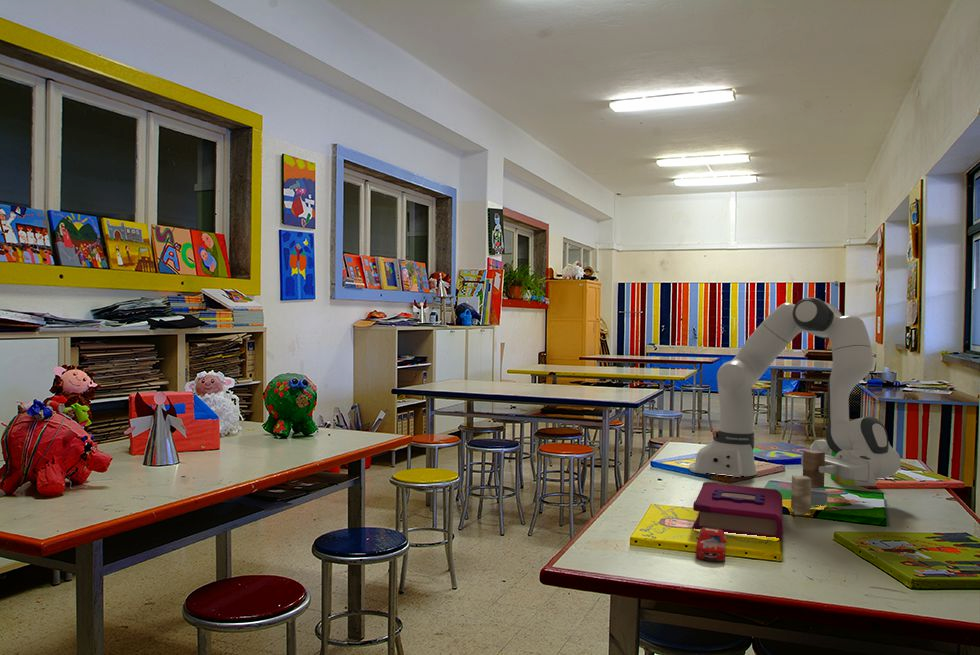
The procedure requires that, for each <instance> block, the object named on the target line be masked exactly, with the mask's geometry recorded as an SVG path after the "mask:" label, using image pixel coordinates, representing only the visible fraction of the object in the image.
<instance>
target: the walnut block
mask: <svg viewBox="0 0 980 655" xmlns="http://www.w3.org/2000/svg"><path fill="white" fill-rule="evenodd" d="M802 452H803V453H802V455H803V466H802V476H808V477H809V478H810V479H811V489H824V488H825V473H819V472H817V471H816V469H817V468H816V467H817V466H821V465H822V466H825V452H821V451H817V450H810V449H809V450H808V449H807V450H803V451H802Z"/></svg>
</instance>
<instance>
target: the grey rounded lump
mask: <svg viewBox="0 0 980 655" xmlns="http://www.w3.org/2000/svg"><path fill="white" fill-rule="evenodd" d="M809 450H817V451H821V452H825V455H829V456H831V453H832V450H831V449H830V448H829V446H828V444H827V442H826V439H815V440H814V441H813V442H812V443H811V445H810V449H809Z"/></svg>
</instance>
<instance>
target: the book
mask: <svg viewBox="0 0 980 655" xmlns="http://www.w3.org/2000/svg"><path fill="white" fill-rule="evenodd" d="M692 507H693V508H692V509H693V511H694V512H698V514H697V517H696V519H695V521H694V522H693V524H692V529H693V528H695V529H701V528H703V527H708V528H717V529H721V530H723V532H728V533H736V534H747V535H757V536H766V537H776V538H779V539H780V540H782V536H783V525H784V524H783V495H782V492H781V491H779V490H778V489H775V488H764V487H757V486H756V487H754V486H745V485H735V484H725V483H718V482H709V481H704V482H703V483H702V487H701V489H700V491H699V493H698V494H697V497H696V499H695V500H694V502H693V505H692Z"/></svg>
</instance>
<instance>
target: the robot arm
mask: <svg viewBox="0 0 980 655" xmlns="http://www.w3.org/2000/svg"><path fill="white" fill-rule="evenodd" d="M803 332H807V333H808V334H809V335H812V336H815V337H818V338H820V339H825V340H829V341H830V347H831V354H832V367H831V372H830V375H829V376H828V377H829V378H828V381H827V425H826V426H827V427H826V430H825V440H826V442H827V444H828V446H829V448H830V449H831V450H832V451H833V452H834V453H836V456H835V457H833V456H829V455H825V466H822V465H821V466H817V467H816V468H817V469H816V471H817V472H819V473H824V474H828V475H831V474H832V475H835V476H839V477H840V478H842V479H843V480H846V481H851V480H853V481H863V482H873V479H876V480H877V479H884V478H889V477H891V476H893V475H895V474H896V473H897V472H898V471H899V470H900V467H901V465H902V464H901V463H902V461H901V457H900V455H899V453H898V452H897V450H896V449H894V448H893V447H892V446H891V444H890V441H889V436H888V431H887V429H886V427H885V425H884V423H882V422H881V421H880V420H879V419H878V418H876V417H874V416H870V415H868V416H864V417H859V418H855V419H853V420H850V403H849V402H850V401H849V398H850V395H851V392H852V390H854V388H855V387H856V386H857V385H858V383H860V382H862V380H863V379H865V378H866V377H867V376H868V375H869V373H871V371H872V368H873V365H874V356H873V355H874V354H873V349H872V343H871V339H870V336H869V333H868V330H867V327H866V324H865V323H864V321H863V319H862V318H860V317H858V316H855V315H844V314H843V312H841V310H839V309H838V308H836V307H835V306H833V305H832V304H831V303H828V302H825V301H823V300H822V299H820V298H816V297H810V296H808V297H805V298H802V299H800V300H798V302H797V303H795V304H794V303H791V302H784V303H782V304H780V305H779V306H777V307H776V308H775V309H774V310H773V311H772V312H771V313H770V314H769V315H767V317H766V318H765V319H764V320H763V321H762V322H761V323H760V324H759V325H758V326H757V328H756V329H755V330H754V331H753V333H751V335H750V336H749V337H748V338H747V339H746V341H745V343H744V344H743V345H742V346H741V348H740V350H739V351H738V352H737V353H736V355H735V356H733V357H734V358H733V359H731V360H729V361H726V362H723V364H722V365H720V367H719V369H718V370H717V372H716V373H717V374H716V380H717V381H716V382H717V391H718V392H717V393H718V400H719V430H717V429H713V430H712V431H711V434H712V441H711V442H709V443H708V444H706V445H705V446H703V447H702V448H700V449H699V450H698V452H697V453H696V456H695V461H694V462H692V463H690V464H689V465H688V470H689V471H690V472H692V473H694V474H695V473H696V474H704V475H707V474H706V473H715V474H726V475H733V476H742V475H744V477H752V476H756V475H757V474H758V472H757V468H756V464H755V454H754V449H755V444H756V443H755V441H756V440H755V438H756V436H755V432H754V420H755V418H754V415H755V414H754V412H755V411H754V410H755V409H754V405H753V391H752V388H753V387H754V386H755V384H756V383H757V382H758V381H759V380H760V378H762V376H763V375H764V374H765V372H766V371H767V370H768V369H769V368H770V366H771V365H772V364H773V362H774V361H775V360H776V359H777V358H778V357H779V355H780V354H782V352H783V351H784V350H785V349H786V348H787V347H788V346H789V344H790V343H791V342H792V341H793V340H794V338H796V336H798V335H799V334H800V333H803ZM800 460H801V461H800V463H801V464H800V465H801V466H802V467H803V454H801V457H800Z"/></svg>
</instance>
